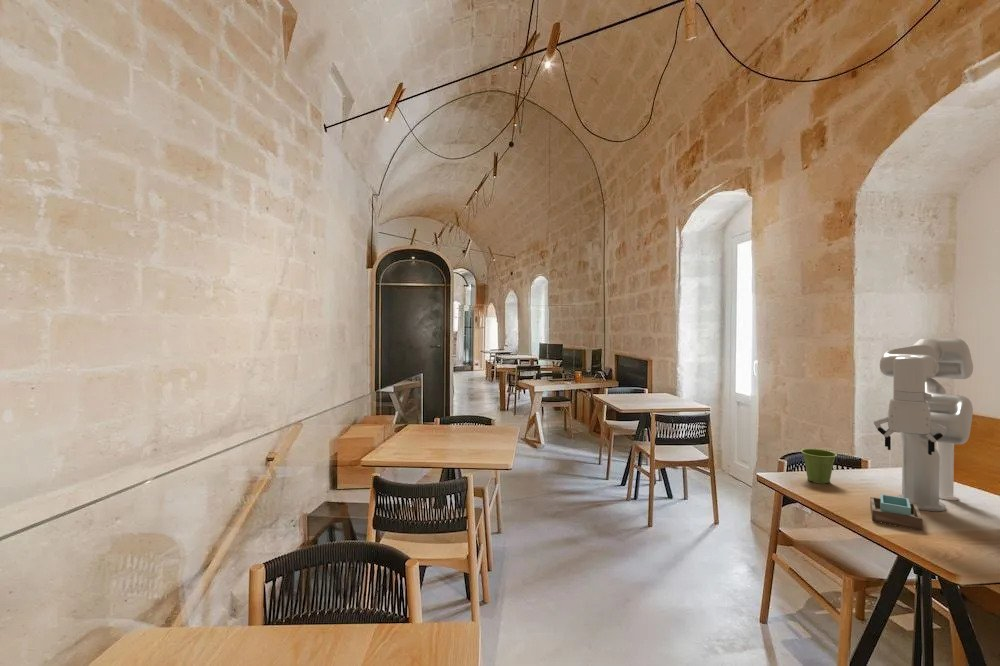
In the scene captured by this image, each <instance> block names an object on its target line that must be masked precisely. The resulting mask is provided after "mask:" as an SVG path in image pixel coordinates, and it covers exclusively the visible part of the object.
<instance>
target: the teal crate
mask: <svg viewBox="0 0 1000 666" xmlns="http://www.w3.org/2000/svg"><path fill="white" fill-rule="evenodd" d="M879 498H880V511H884V512H890V513H896V514H902V515H908V516H911V507H910V502H909V499H908V498H902V497H897V496H896V495H895V496H894V495H888V494H881V493H880V495H879Z"/></svg>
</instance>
